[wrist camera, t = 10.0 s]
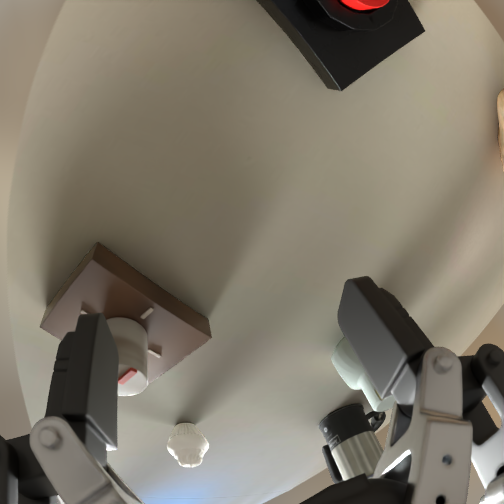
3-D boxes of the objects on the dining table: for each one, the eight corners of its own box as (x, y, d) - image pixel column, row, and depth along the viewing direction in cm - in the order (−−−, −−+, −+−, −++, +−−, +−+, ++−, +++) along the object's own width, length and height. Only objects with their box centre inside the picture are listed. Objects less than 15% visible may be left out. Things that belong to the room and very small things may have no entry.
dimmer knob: (130, 358, 27) (129, 404, 23) (89, 337, 25) (81, 384, 20) (157, 333, 26) (159, 382, 22) (114, 308, 24) (107, 358, 19)
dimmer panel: (45, 309, 25) (39, 328, 23) (97, 241, 23) (91, 259, 21) (146, 367, 32) (147, 386, 30) (208, 319, 30) (212, 339, 28)
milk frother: (322, 412, 48) (353, 484, 36) (396, 385, 51) (432, 446, 39) (311, 441, 56) (335, 500, 44) (376, 418, 59) (403, 470, 47)
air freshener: (394, 338, 41) (429, 390, 32) (346, 370, 42) (375, 425, 34) (375, 299, 35) (421, 361, 26) (317, 339, 36) (352, 407, 28)
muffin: (191, 437, 43) (197, 474, 38) (157, 430, 40) (161, 470, 35) (213, 422, 42) (221, 462, 36) (178, 414, 39) (184, 458, 33)
